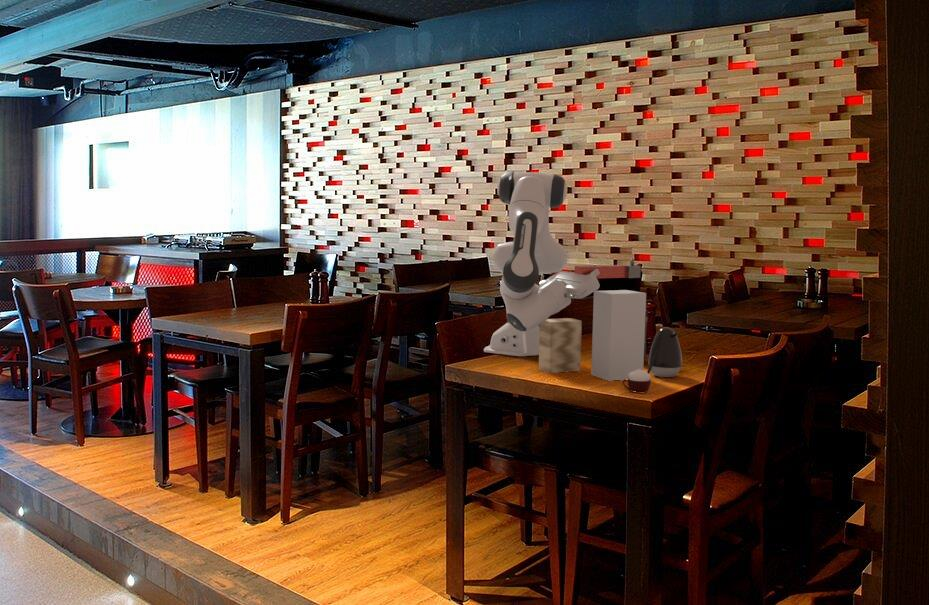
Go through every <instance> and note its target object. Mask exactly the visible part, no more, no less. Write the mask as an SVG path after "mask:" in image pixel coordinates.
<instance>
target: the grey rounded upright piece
mask: <svg viewBox="0 0 929 605" xmlns="http://www.w3.org/2000/svg"><path fill="white" fill-rule="evenodd" d="M678 335H679V333H678V331H675V330H674V329H673V328H671V327H667V326H665V327H662V328H659V330H658V331H657V332H656V334H655V336H654V338H653V340H652V343H651V346H650V350H649V354H648V358H647V364H648V367H649V366H650V364H651V361H652V359H653V356H654V354H655V352H656V350H657V349H658V350H659V351H658V354H657V356H656V359H655V361H654V363H653V366H652V368H651V371H650V373H651V374H653V376H656V377H657V376H658V378H663V377H671V378H673V377H676V376H677V375H678V374H679V372H680V371H681V368H682V366H683V357H682V355H683V354H682V350H681V346H680V342H679V338H678Z"/></svg>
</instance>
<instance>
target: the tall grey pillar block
mask: <svg viewBox="0 0 929 605" xmlns="http://www.w3.org/2000/svg"><path fill="white" fill-rule="evenodd" d="M646 304H647V292H640V291H636V290H631V289H630V290H628V289H618V290H616V289H615V290H596V291H594V292H593V305H592V306H593V308H592V309H593V310H592V314H593V315H592V317H593V318H592V340H591V342H592V343H591V367H590V368H591V371H590V375H591V376H592V375H593V377H595V376H596V378H598V377H599V379H601V378H602V379H601V380H604V379H605V380H604V381H607V380H608V381H607V382H614V381H613V380H620V381H623V380H625V379H628V373H630V372H632V371H635V370H637V369H641V370H644V361H645V360H644V337H645V311H646V309H647V307H646Z"/></svg>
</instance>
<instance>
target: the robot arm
mask: <svg viewBox="0 0 929 605" xmlns="http://www.w3.org/2000/svg"><path fill="white" fill-rule="evenodd" d="M496 188H497V189H496V190H497V195H498V198H499V201H501V202H502V203H503V204H506V205H508V206H509V208H508V227H509V230H510V231H511V232H512V233H513V234H514V238H513V241H508V242H507V241H506V242H502V243H498V244H497V245H496V246H495V248H494V250H493V253H492V262H493V266H494V267H495V269H497V271H498V272H500V273H501V274H502V278H501V280H500V285H499V293H500V297H501V298H502V299H503V302H504V304H505V310H506V320H507V322H506V323H505V324H503V325H502V326H501V327H499V328H498V329H497V330H496V331H494V332H493V334H492V336H491V339H490V344H489V345H488V346H485V347H484V348H483V352H484V353H491V354H496V355H497V354H498V355H506V356H514V357H515V356H516V357H527V356H530V357H531V356H539V338H540V324H541V323H543V322H544V321H546V320H547V319H550V317H551V316H552V315H555V314H558V313H559V312H560V311H562V310H563V309H565V308H566V307H567V306H568V307H569V305H570V304H571V303H572V300H574V299H576V300H577V299H578V300H579V299H580V300H581V299H583V298H585V297H587V296H590V295H591V294H592V293H593V294H594V291H598V290H599V288H600V287H601V286H600V285H601V284H600V283H599V280H598V278H596V276H598V275H599V274H600V272H599V270H598V269H593V270H592V271H591V273H590V274H587V275H583V274H581V275H580V274H575V272H570V271H565V270H564V271H563V269H564V268H565V267H566V264H567V262H568V254H567V251H566V248H564V246H563V245H562V244H561V243H559V242H558V241H557V240H555V239H554V237H553V236H552V234H551V232H550V224H549V222H550V220H549V218H550V209H553V208H554V209H555V208H559V207H561V206H562V205H563V204H564V202H565V200H566V198H567V194H568V187H567V183H566V180H565V178H564V177H563V176H561V175H557V174H549V173H544V172H539V171H537V172H536V171H533V172H531V171H530V172H529V171H526V172H525V171H524V172H522V171H520V172H514V171H507V172H504V173H503V174H501V176H500V178H499V179H498V183H497V187H496ZM554 273H555V274H554ZM540 274H553V275H551V276H549V277H548V278H547V279H543V280H541V281H539V283H538V284H536V283H537V281H538V279H539V276H540Z"/></svg>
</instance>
